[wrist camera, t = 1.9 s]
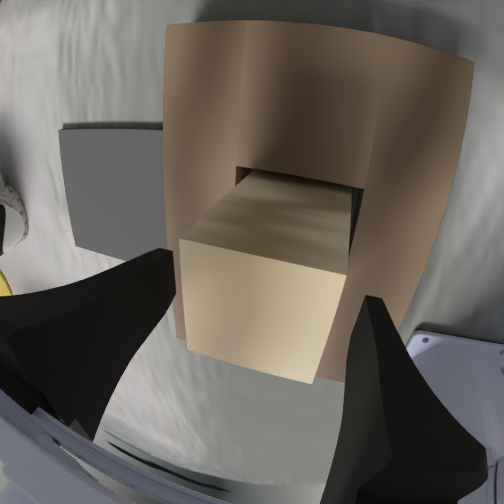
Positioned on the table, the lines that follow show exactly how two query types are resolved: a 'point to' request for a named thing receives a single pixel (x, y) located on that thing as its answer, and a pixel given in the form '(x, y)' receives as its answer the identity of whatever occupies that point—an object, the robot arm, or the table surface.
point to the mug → (11, 218)
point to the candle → (4, 286)
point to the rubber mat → (115, 189)
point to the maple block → (267, 273)
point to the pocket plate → (318, 141)
